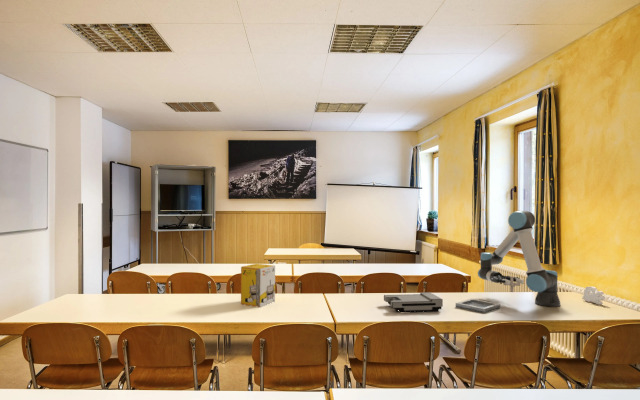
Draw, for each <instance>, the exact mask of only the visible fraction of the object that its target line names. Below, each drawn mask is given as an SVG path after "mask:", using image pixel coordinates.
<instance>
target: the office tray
mask: <svg viewBox="0 0 640 400" xmlns="http://www.w3.org/2000/svg"><path fill="white" fill-rule="evenodd" d="M443 301H444V299H443V298H442V297H439V296H437V295H436V294H434V293H433V292H430V291H429V292H427V291H426V292H425V291H424V292H420V293H419V294H418V293H417V294H415V293H414V294H384V295H383V302H386V303H387V304H388V305H390V307H391V308H392V309H394V310H395V311H398V310H399V311H400V312H410V313H438V312H439V311H440V310H442V307H443V303H444V302H443ZM399 311H398V312H399ZM423 311H424V312H423ZM400 312H399V313H400Z"/></svg>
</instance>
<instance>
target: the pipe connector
mask: <svg viewBox="0 0 640 400" xmlns="http://www.w3.org/2000/svg"><path fill="white" fill-rule="evenodd" d="M509 276H510V285H508V284H504V283H503V286H510V287H509V289H510V291H509V292H510V293H514V287H519V286H521V283H517V282H513V277H514V276H513V275H512V276H511V275H509Z"/></svg>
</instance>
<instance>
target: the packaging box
mask: <svg viewBox="0 0 640 400" xmlns="http://www.w3.org/2000/svg"><path fill="white" fill-rule="evenodd" d="M272 302H274V303H276V265H274V264H273V265H271V264H262V263H253V264H248V265H243V266H240V305H243V304H246V305H245V306H250V305H252V306H251V307H256V306H258V307H257V308H262V307H265V306H268V305H271V304H273V303H272ZM270 303H271V304H270ZM267 304H268V305H267Z"/></svg>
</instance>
